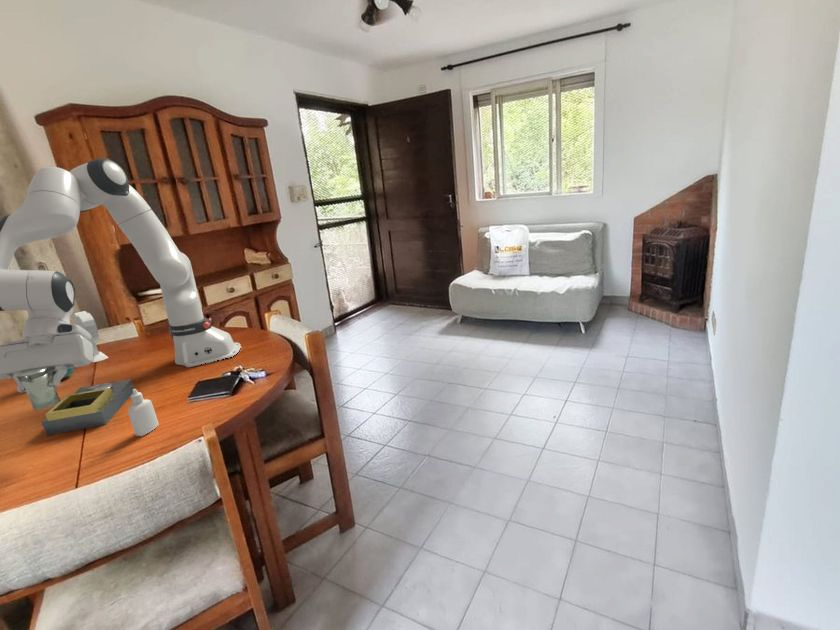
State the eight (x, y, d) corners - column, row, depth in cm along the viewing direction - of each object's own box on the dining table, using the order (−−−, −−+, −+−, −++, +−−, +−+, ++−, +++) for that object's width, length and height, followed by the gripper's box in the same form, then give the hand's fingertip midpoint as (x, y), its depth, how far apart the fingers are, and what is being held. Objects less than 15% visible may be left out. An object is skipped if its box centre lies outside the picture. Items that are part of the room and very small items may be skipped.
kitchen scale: (84, 399, 130) (78, 381, 128) (134, 390, 133) (129, 373, 131) (46, 435, 112) (38, 415, 110) (105, 424, 114) (98, 405, 112)
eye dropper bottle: (133, 432, 109) (119, 391, 105) (157, 423, 113) (144, 382, 109) (138, 438, 106) (123, 396, 102) (162, 428, 110) (149, 387, 106)
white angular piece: (110, 358, 162) (95, 314, 156) (94, 363, 159) (78, 318, 153) (99, 350, 172) (84, 308, 166) (84, 354, 168) (68, 312, 163)
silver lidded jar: (64, 397, 105) (50, 362, 102) (49, 411, 98) (33, 374, 95) (41, 401, 103) (26, 366, 100) (23, 415, 97) (7, 379, 94)
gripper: (-13, 338, 100) (-25, 393, 95) (84, 324, 105) (78, 375, 99) (7, 348, 106) (-4, 401, 100) (98, 334, 110) (94, 384, 104)
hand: (38, 388), depth 100 cm, fingers closed on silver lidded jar, 5 cm apart
